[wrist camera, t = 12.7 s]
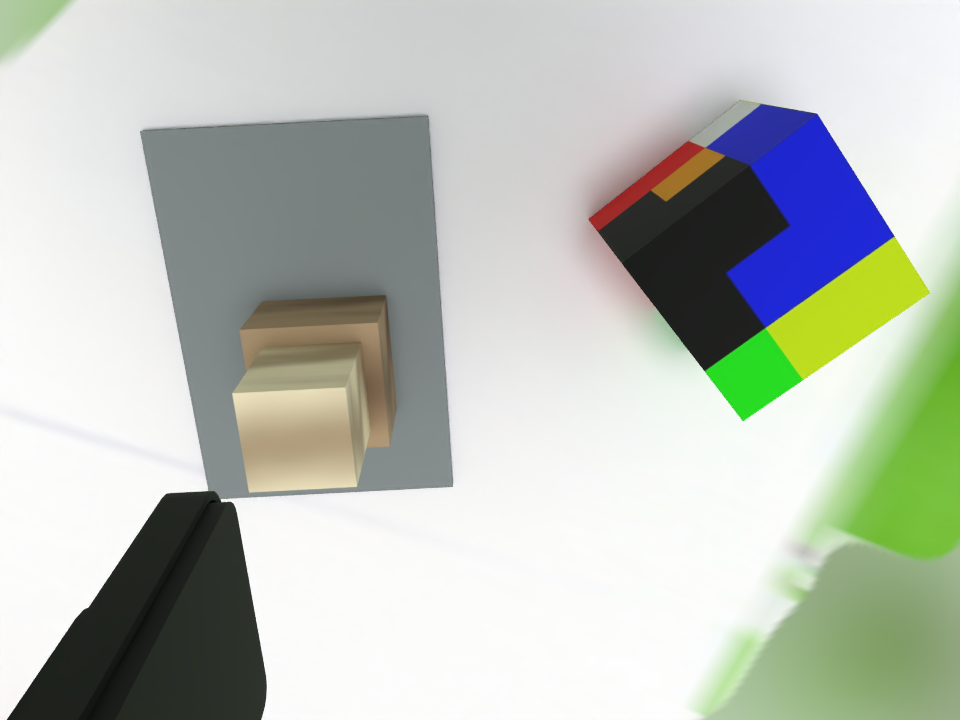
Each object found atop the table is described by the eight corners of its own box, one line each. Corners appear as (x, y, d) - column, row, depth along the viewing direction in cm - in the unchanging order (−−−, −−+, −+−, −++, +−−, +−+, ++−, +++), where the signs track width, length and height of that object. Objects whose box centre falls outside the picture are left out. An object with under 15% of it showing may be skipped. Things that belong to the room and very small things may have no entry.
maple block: (263, 346, 41) (232, 393, 36) (361, 341, 41) (345, 387, 36) (276, 435, 43) (248, 492, 37) (370, 430, 43) (356, 487, 37)
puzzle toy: (739, 100, 43) (817, 113, 34) (834, 243, 46) (929, 292, 37) (588, 218, 45) (621, 263, 36) (688, 349, 48) (742, 421, 39)
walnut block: (262, 301, 46) (239, 329, 41) (386, 294, 46) (377, 322, 41) (279, 414, 48) (259, 453, 43) (396, 408, 48) (389, 446, 43)
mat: (144, 130, 43) (140, 131, 42) (427, 116, 43) (427, 117, 42) (213, 494, 51) (210, 499, 50) (452, 481, 51) (452, 486, 50)
